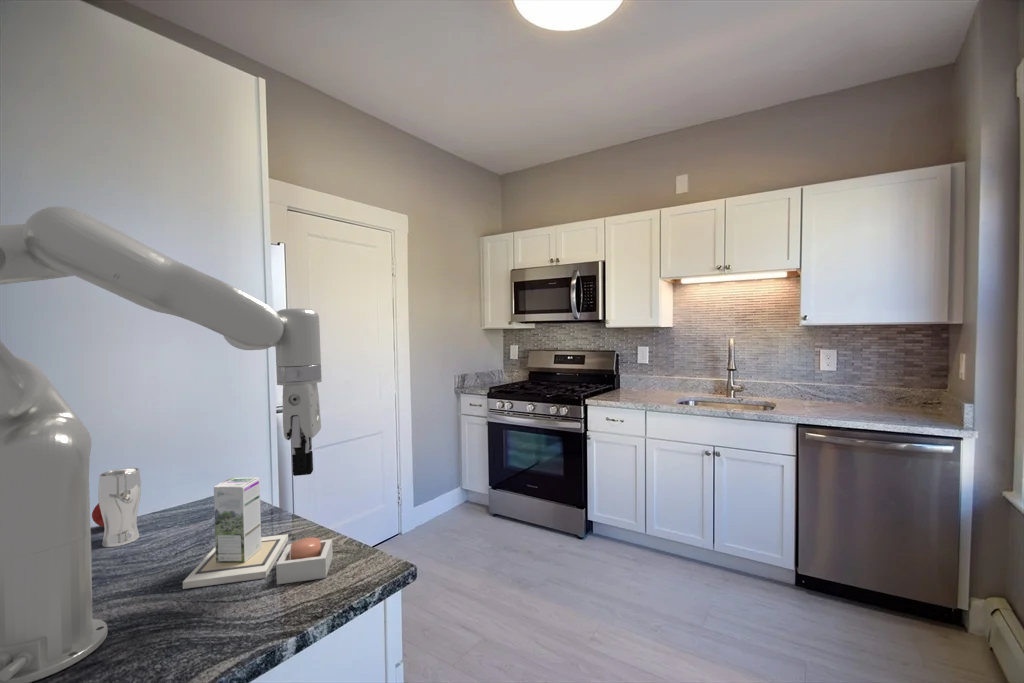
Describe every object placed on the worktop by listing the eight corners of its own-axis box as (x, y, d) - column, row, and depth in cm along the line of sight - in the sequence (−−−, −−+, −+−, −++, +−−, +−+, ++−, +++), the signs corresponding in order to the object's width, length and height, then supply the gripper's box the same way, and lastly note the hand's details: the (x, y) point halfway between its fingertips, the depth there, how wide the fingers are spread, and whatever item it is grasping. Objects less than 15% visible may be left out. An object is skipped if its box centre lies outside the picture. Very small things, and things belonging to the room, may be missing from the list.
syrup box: (262, 548, 88) (261, 475, 88) (244, 563, 83) (242, 485, 83) (234, 549, 89) (233, 476, 89) (214, 564, 83) (212, 485, 83)
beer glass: (137, 531, 102) (136, 465, 102) (145, 539, 97) (144, 470, 97) (96, 542, 96) (95, 473, 96) (102, 551, 92) (101, 478, 92)
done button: (318, 560, 81) (317, 547, 81) (287, 564, 79) (287, 551, 79) (322, 548, 85) (322, 536, 85) (294, 552, 84) (294, 539, 84)
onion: (85, 532, 102) (85, 497, 102) (114, 522, 107) (114, 489, 107) (103, 534, 100) (102, 499, 100) (131, 524, 106) (131, 490, 106)
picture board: (266, 577, 80) (265, 570, 80) (182, 588, 77) (182, 581, 77) (288, 539, 95) (288, 533, 95) (219, 547, 92) (219, 541, 92)
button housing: (325, 577, 79) (325, 558, 79) (276, 584, 78) (276, 564, 78) (332, 556, 87) (332, 539, 87) (288, 562, 85) (287, 544, 85)
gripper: (314, 377, 76) (318, 484, 77) (326, 371, 91) (330, 461, 91) (265, 380, 74) (270, 489, 75) (286, 373, 89) (290, 465, 89)
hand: (303, 473), depth 83 cm, fingers closed
